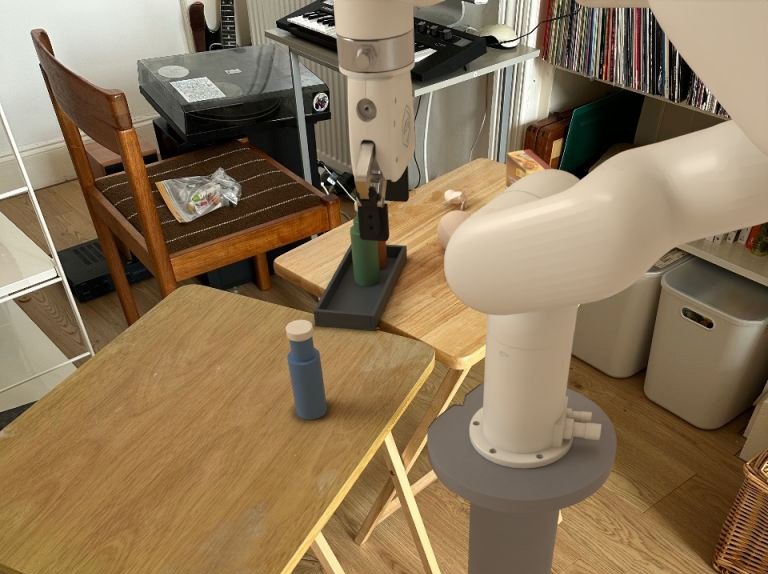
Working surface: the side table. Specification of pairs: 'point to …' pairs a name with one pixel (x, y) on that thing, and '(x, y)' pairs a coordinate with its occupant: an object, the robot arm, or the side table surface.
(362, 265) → the green bottle
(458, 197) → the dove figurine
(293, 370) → the blue bottle
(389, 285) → the tray
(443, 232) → the light bulb
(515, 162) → the candy box
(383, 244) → the amber bottle
